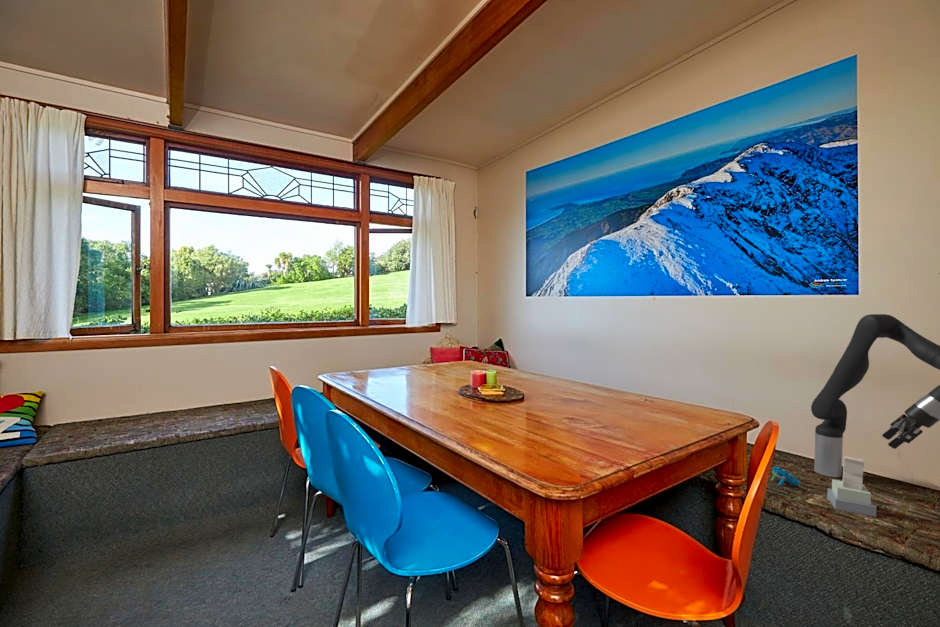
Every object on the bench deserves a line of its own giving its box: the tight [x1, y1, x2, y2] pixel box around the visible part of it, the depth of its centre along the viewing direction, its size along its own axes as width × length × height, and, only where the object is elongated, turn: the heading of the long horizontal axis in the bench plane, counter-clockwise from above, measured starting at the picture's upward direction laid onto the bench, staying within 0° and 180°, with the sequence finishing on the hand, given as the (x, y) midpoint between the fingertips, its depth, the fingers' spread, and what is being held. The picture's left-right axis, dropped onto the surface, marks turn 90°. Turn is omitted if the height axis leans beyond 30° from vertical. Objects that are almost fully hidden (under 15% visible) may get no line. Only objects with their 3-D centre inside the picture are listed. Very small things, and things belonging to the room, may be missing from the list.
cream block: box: [841, 455, 865, 491], centre depth 153 cm, size 5×5×10 cm
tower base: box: [826, 487, 877, 518], centre depth 154 cm, size 11×11×4 cm
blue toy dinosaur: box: [770, 466, 801, 487], centre depth 172 cm, size 11×6×10 cm
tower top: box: [831, 478, 872, 505], centre depth 154 cm, size 9×9×4 cm
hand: (887, 442), depth 151 cm, fingers open, 8 cm apart
